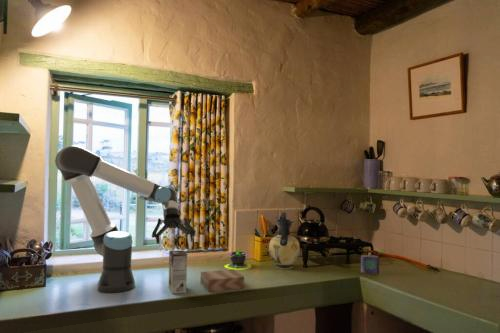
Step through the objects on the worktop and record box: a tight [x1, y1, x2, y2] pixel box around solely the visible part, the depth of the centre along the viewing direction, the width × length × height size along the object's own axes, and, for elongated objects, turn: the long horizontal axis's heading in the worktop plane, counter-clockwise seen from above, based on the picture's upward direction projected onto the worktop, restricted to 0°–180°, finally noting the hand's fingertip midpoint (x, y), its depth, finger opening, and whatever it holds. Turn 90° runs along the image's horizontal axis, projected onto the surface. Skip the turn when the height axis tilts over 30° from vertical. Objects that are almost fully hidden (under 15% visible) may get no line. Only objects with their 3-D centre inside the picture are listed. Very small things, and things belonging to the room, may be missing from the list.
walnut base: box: [200, 269, 245, 293], centre depth 159 cm, size 16×14×5 cm
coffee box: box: [168, 249, 188, 295], centre depth 152 cm, size 9×6×16 cm
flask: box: [360, 252, 380, 275], centre depth 186 cm, size 9×3×11 cm, turn 79°
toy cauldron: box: [223, 247, 252, 271], centre depth 195 cm, size 15×15×11 cm
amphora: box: [268, 211, 301, 270], centre depth 196 cm, size 18×17×30 cm
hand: (176, 248), depth 161 cm, fingers open, 13 cm apart
